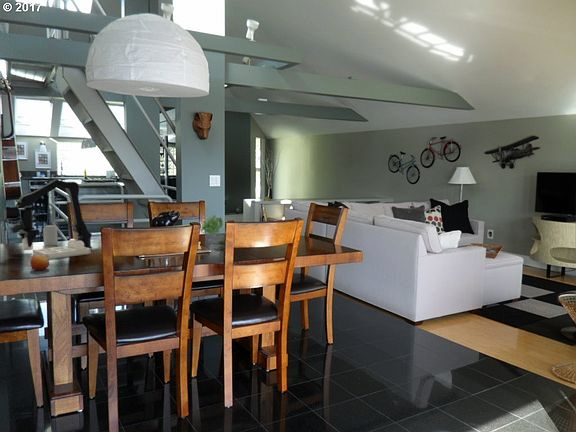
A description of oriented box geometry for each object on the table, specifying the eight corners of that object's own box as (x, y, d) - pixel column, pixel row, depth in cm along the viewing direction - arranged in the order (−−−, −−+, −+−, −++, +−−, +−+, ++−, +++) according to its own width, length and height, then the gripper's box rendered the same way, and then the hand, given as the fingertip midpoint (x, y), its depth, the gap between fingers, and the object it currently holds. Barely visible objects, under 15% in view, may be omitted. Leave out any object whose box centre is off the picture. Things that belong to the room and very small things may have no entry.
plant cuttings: (224, 248, 319) (199, 229, 317) (239, 229, 318) (214, 210, 316) (219, 258, 284) (190, 236, 282) (236, 237, 283) (207, 215, 281)
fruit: (31, 265, 216) (39, 250, 216) (46, 273, 217) (54, 259, 217) (22, 268, 208) (31, 253, 208) (38, 277, 209) (47, 262, 209)
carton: (76, 250, 265) (76, 237, 264) (90, 253, 255) (90, 240, 254) (33, 255, 246) (32, 241, 246) (46, 259, 236) (45, 245, 235)
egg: (30, 248, 256) (30, 236, 255) (34, 249, 253) (33, 236, 252) (20, 249, 252) (20, 236, 251) (24, 250, 249) (24, 237, 248)
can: (51, 246, 275) (51, 226, 274) (40, 245, 276) (40, 226, 275) (60, 244, 282) (59, 225, 281) (49, 243, 284) (49, 224, 283)
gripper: (3, 217, 250) (4, 246, 252) (17, 220, 239) (18, 250, 240) (25, 216, 259) (26, 243, 260) (39, 219, 247) (40, 247, 249)
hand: (27, 246), depth 252 cm, fingers closed on egg, 5 cm apart
